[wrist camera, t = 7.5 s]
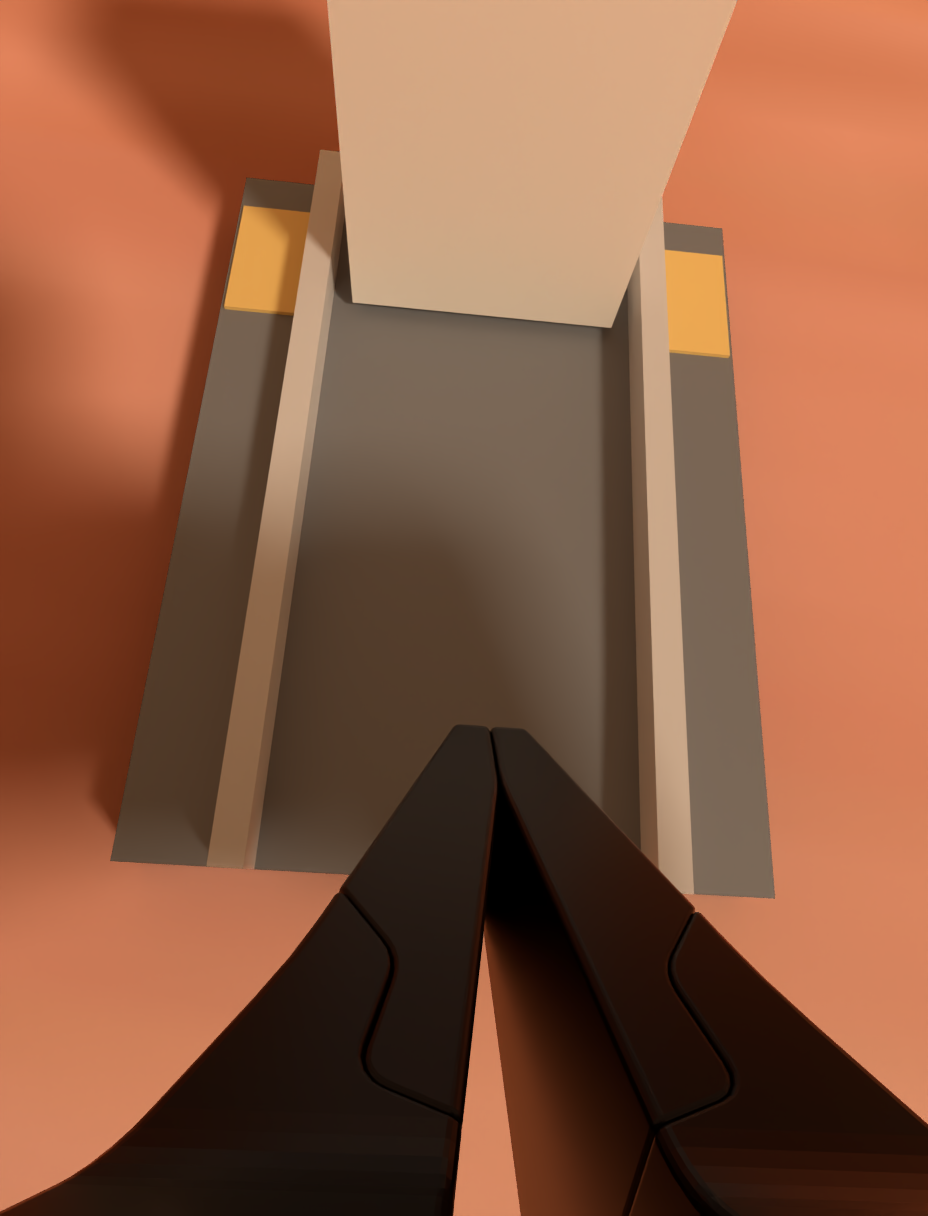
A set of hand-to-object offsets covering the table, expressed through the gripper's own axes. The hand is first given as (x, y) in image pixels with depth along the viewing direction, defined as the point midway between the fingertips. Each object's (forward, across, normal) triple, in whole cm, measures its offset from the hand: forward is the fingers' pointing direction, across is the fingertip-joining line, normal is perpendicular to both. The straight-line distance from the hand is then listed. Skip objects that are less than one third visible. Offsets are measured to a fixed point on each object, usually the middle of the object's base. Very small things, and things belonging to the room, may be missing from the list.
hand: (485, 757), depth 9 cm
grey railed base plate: (+10, 0, 0) cm, 10 cm away
